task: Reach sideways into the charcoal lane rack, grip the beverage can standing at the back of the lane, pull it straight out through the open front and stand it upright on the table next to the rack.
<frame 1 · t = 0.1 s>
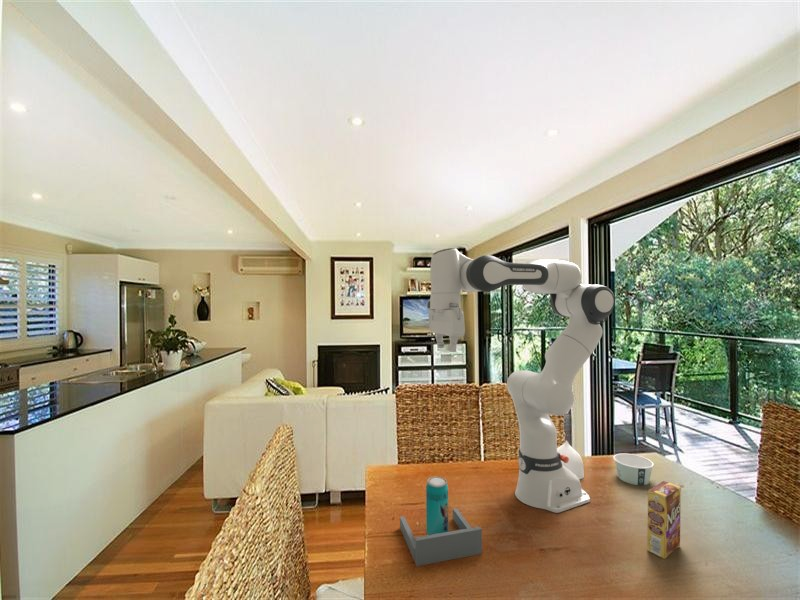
hand: (446, 349, 112), 48 cm above the table, tool pointing down, fingers open, 8 cm apart
candy box: (664, 549, 94), on the table
lane rack: (437, 538, 99), on the table
beverage can: (437, 538, 99), on the table
teardrop: (567, 473, 136), on the table
food container: (633, 479, 131), on the table
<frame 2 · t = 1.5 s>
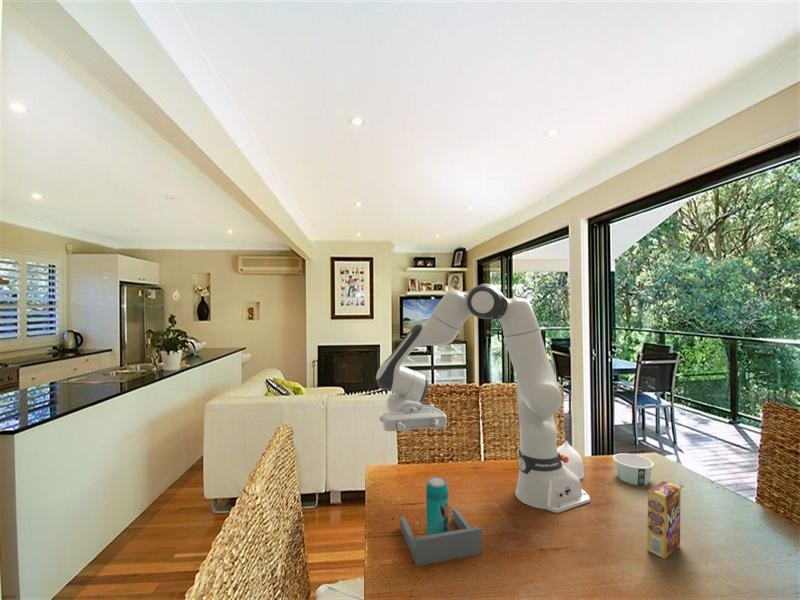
hand: (422, 428, 111), 25 cm above the table, tool horizontal, fingers open, 8 cm apart
nothing on the table moved.
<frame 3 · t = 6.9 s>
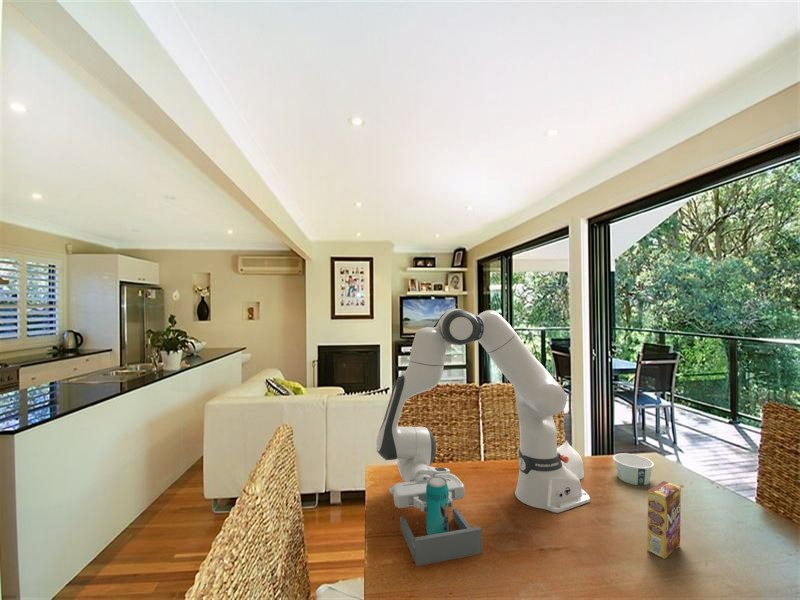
hand: (437, 506, 99), 9 cm above the table, tool horizontal, fingers closed on beverage can, 6 cm apart
beverage can: (437, 538, 99), on the table, touching gripper
everything else where it was.
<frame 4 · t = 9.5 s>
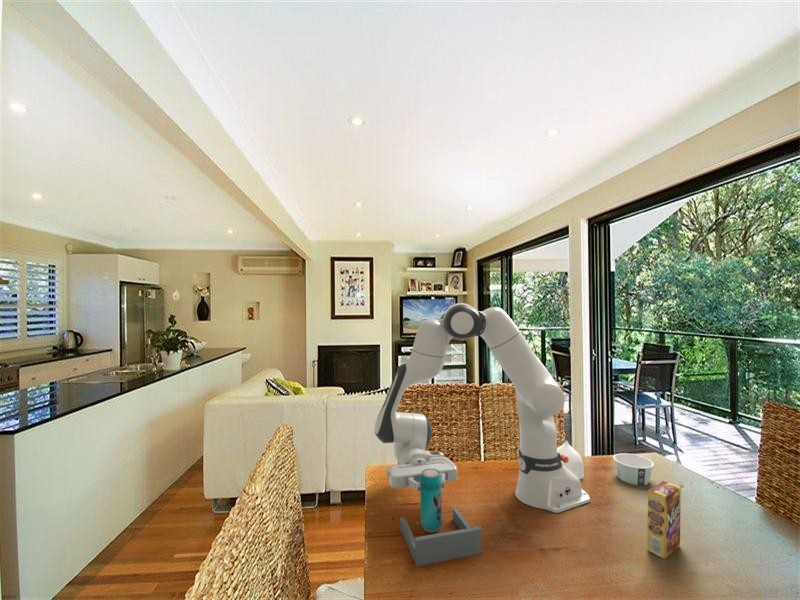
hand: (431, 486, 103), 11 cm above the table, tool horizontal, fingers closed on beverage can, 6 cm apart
beverage can: (431, 528, 103), on the table, touching gripper
everything else where it was.
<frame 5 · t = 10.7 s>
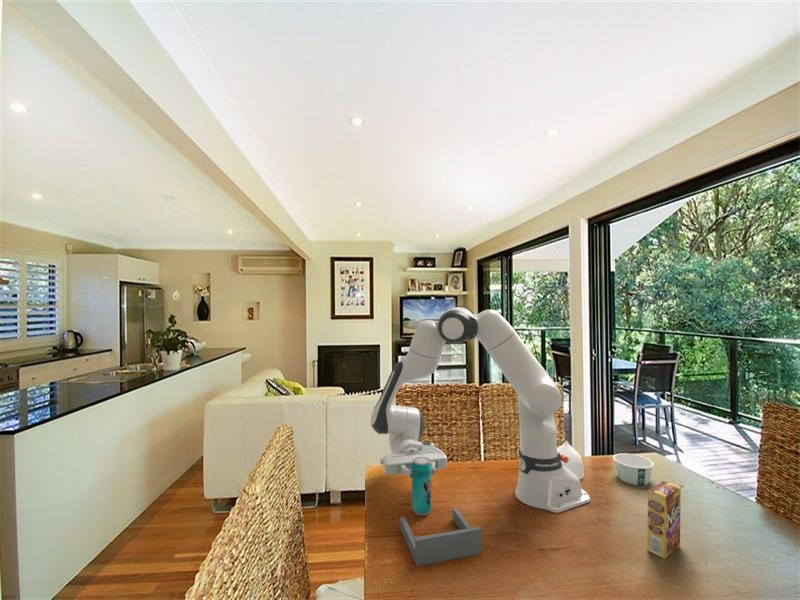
hand: (422, 473, 111), 11 cm above the table, tool horizontal, fingers closed on beverage can, 6 cm apart
beverage can: (421, 512, 111), on the table, touching gripper
everything else where it was.
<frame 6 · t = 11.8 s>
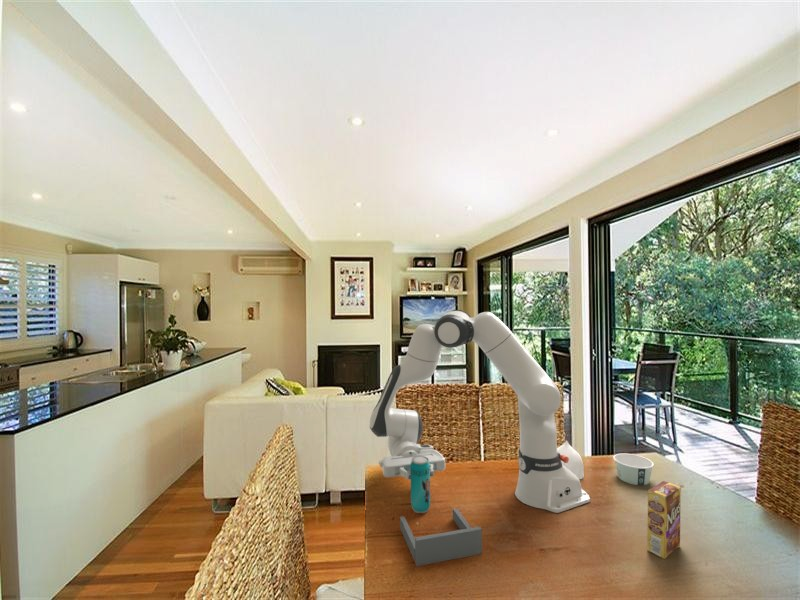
hand: (420, 475, 113), 10 cm above the table, tool horizontal, fingers closed on beverage can, 6 cm apart
beverage can: (420, 510, 113), on the table, touching gripper
everything else where it was.
when the fingers open (10 cm above the table, at t = 12.6 s): beverage can stays where it is, on the table.
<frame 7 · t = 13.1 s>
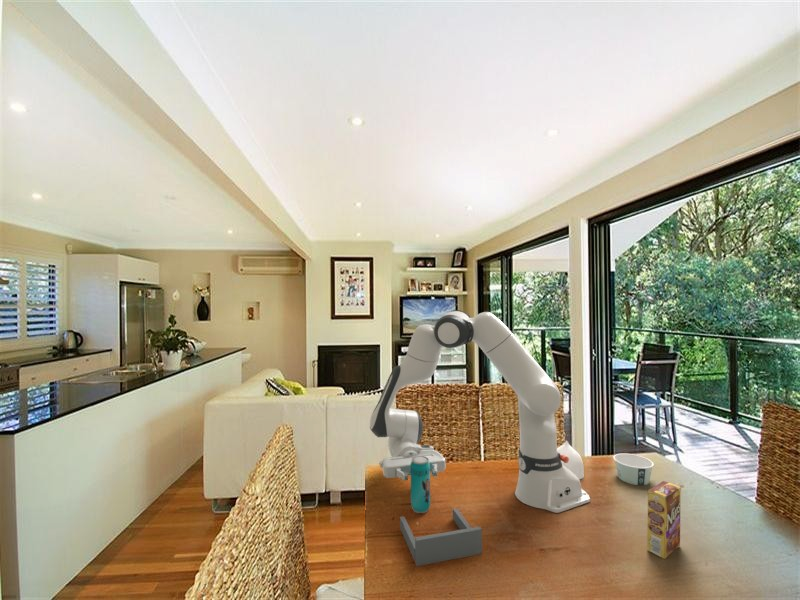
hand: (420, 476, 113), 10 cm above the table, tool horizontal, fingers open, 8 cm apart
beverage can: (420, 510, 113), on the table
everything else where it was.
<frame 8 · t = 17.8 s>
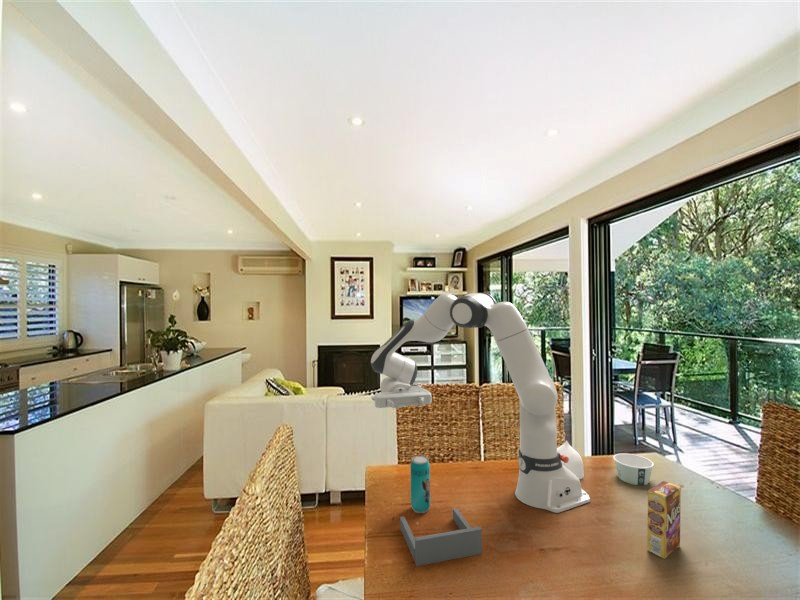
hand: (408, 404, 125), 28 cm above the table, tool horizontal, fingers open, 8 cm apart
nothing on the table moved.
at the end: beverage can inside the target area (1.2 cm from its centre), on the table; beverage can tilted 0°; the gripper is holding nothing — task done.
